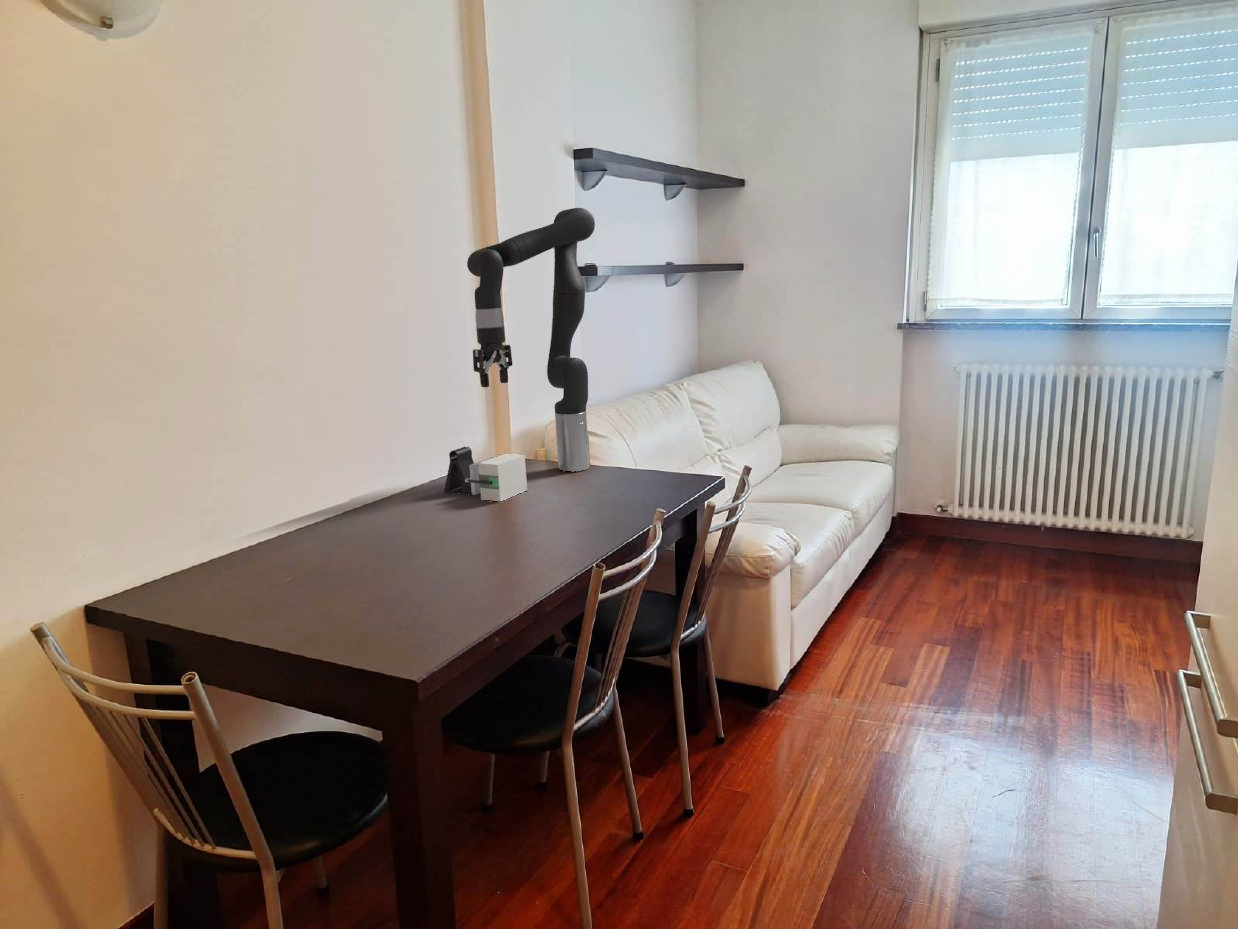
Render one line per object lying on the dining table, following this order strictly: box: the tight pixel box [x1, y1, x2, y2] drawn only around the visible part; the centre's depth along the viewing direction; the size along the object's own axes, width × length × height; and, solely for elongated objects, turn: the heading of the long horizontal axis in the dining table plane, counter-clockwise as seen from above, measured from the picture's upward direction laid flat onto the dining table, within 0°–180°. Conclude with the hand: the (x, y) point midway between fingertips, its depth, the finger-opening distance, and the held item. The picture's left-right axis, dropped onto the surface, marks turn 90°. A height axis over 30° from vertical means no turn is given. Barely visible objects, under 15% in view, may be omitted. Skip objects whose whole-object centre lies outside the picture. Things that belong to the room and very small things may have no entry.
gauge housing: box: [478, 453, 528, 502], centre depth 223 cm, size 12×6×10 cm, turn 151°
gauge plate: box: [465, 456, 496, 496], centre depth 224 cm, size 12×8×8 cm
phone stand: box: [443, 446, 475, 496], centre depth 230 cm, size 9×6×12 cm, turn 61°
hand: (495, 384), depth 232 cm, fingers open, 8 cm apart
